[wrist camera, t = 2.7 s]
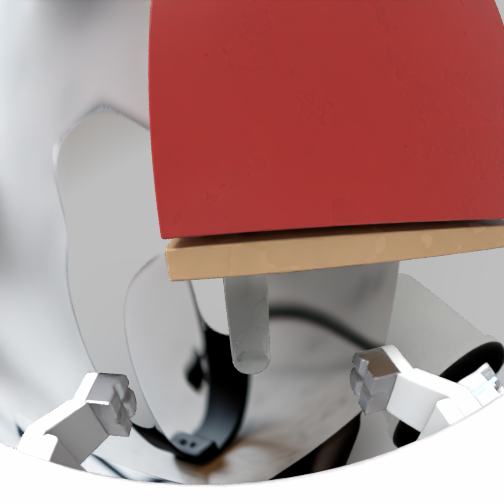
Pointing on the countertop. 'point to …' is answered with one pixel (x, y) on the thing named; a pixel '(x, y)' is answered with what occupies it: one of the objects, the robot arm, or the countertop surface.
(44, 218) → the countertop surface
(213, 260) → the door
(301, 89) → the cabinet
